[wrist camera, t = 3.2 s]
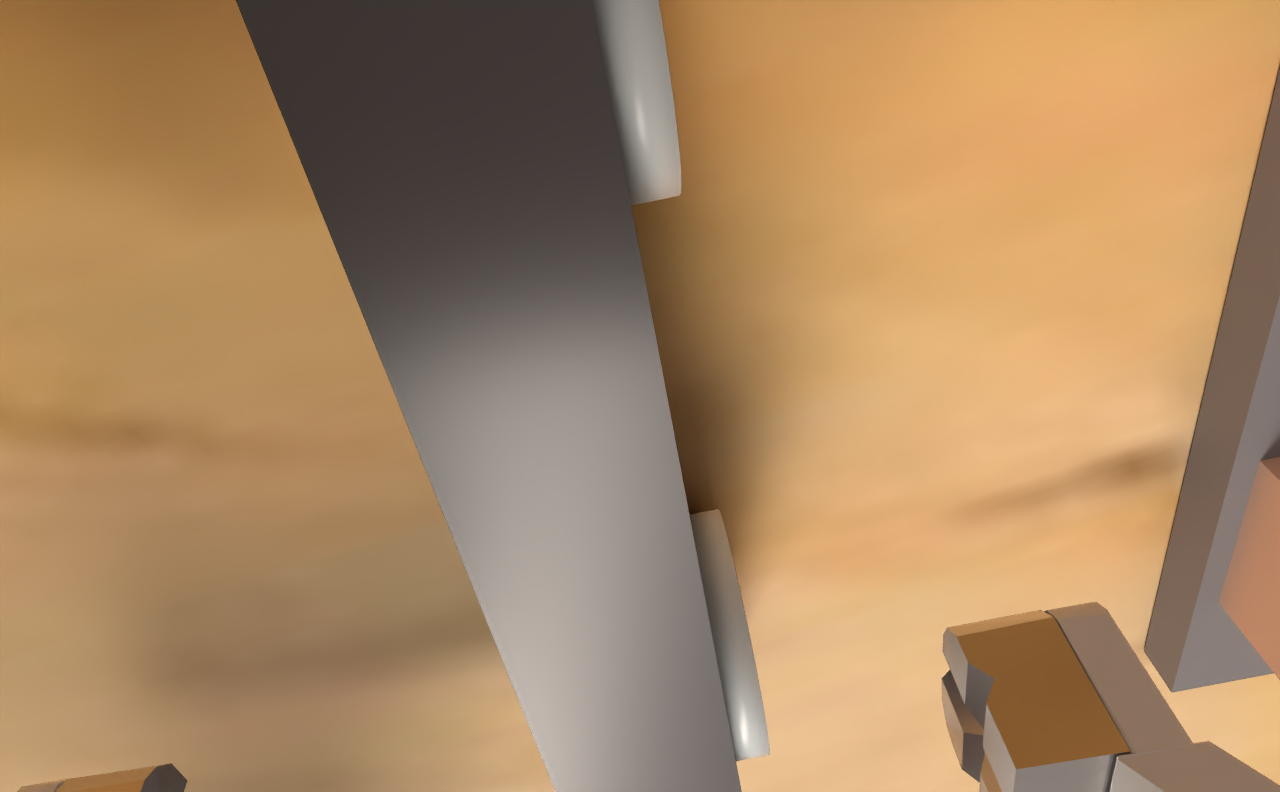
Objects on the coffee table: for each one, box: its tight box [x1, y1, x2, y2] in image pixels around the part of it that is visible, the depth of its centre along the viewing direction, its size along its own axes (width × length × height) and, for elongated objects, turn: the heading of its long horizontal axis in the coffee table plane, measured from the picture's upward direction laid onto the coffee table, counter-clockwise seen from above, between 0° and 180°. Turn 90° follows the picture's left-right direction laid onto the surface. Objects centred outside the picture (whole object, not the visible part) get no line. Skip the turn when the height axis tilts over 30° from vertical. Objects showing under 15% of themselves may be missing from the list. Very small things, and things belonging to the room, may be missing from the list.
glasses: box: [236, 0, 770, 792], centre depth 14 cm, size 14×20×5 cm
